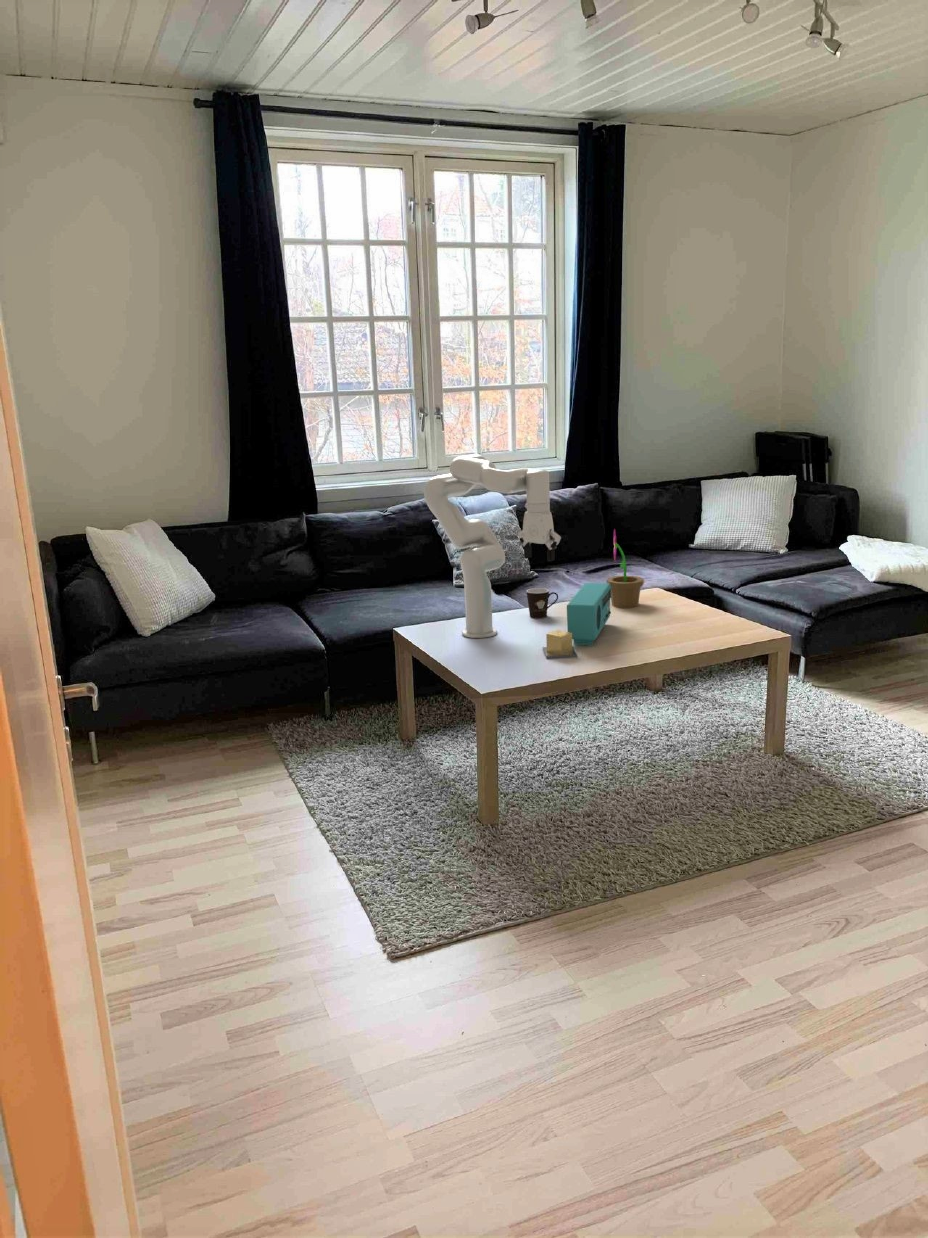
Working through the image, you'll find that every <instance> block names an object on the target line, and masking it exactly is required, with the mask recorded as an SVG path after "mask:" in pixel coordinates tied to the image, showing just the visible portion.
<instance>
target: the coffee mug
mask: <svg viewBox="0 0 928 1238" xmlns="http://www.w3.org/2000/svg"><path fill="white" fill-rule="evenodd" d="M525 592H526V598H527V605H528V612H529V617H530V618H532V619H544V618H546V617H548V610H549V608H551V607H552V606H553V605H555V604H556V602H557V601H558V599H559V595H558V593H557V592H555V591H553V592H550V589H548V588H543V587H534V588H529V589H527V590H526V591H525ZM551 595H555V596H556V598H555V600H554V601H553V602H552V603H550V604H549V598H550V596H551Z"/></svg>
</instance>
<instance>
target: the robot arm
mask: <svg viewBox="0 0 928 1238" xmlns="http://www.w3.org/2000/svg"><path fill="white" fill-rule="evenodd" d="M476 485H480V486H483V487H484V488H485V489H486V490H488V491H491V492H495V493H500V494H508V495H509V494H513V493H518V492H519V493H520V492H525V491H526V492H525V493H526V503H525V504H524V508H525V509H526V511H525V512H524V515H523V522H522V530H520V531H518V532H517V536H518V538H519V541H520V542H521V543H520V544H521V545H522V547H523V554H524V555H523V557H524V558H523V559H530V558H532V557H533V555H532V545H531V544H532V543H533V544H539V545H540V544H541V545H543V544H545V546H546V547H547V548H548V549H546V560H547V562H548V563H550V562H553V561H555V558H556V551H555V550H556V549H557V547H558V545H560V541H561V539H562V537H561V535H559V534H558V533H557V532H556V531H555V530H554V527H555V526H554V521H553V515H552V512H551V506H550V505H551V504H550V503H551V502H550V497H551V496H550V494H551V493H550V473H549V471H548V470H545V469H532V468H529V467H521V468H514V469H509V470H502V469H497V468H496V465H495V464H494V463H493V462H492V461H490V460H487V459H486V458H485V457H484V456H483V455H481V454H476V453H474V454H469V455H467V454H466V455H460V456H457V457H455V458H454V459H453V460H452V461H451V462H450V464H449V473H446V474H441V475H436V476H433V477H431V478H430V479H429V480H427V482H426V483H425V485H424V489H423V490H424V491H423V495H424V500H425V504H426V505H427V507H428V509H429V510H430V512H431V513H432V514H433V515H434V517H435V518H436V519H437V521H438V522H439V524H440V526H441V528H442V529H443V531H444V532H445V534H446V536H447V538H448V539H449V540H450V542H451V545H453V546H454V547H455V548H457V549H460V550H463V549H465V551H463V552H462V554H461V556H460V568H461V573H462V576H463V586H464V587H463V589H464V604H465V605H464V606H465V607H464V610H465V628H464V629H462V630H461V633H462V636H463V637H466V638H470V639H471V638H472V639H484V638H489V637H490V638H491V637H493V636H495V635H497V633H498V629H497V628H495V627H494V626H493V607H492V605H493V604H492V584H491V580H490V579H489V577H488V572H490V571H494V570H498V569H500V568H501V567H502V566H503V565H504V564H505V561H506V555H505V554H506V553H505V550H504V549H503V547H502V545H501V543H500V542H499V540H498V538H497V536H496V535H495V534H494V532H493V529H491V527H490V525H488V523H487V522H486V521H484V520H483V519H480V518H474V519H473V518H472V519H466V518H465V515H463V513H462V512H461V510H460V509H459V508H458V506H457V505H455V504H454V503H453V502H452V501H451V500H449V499H453V498H457V497H461V496H462V497H463V496H465V495H466V494H468V493H469V492H470V491H471V490H472V489H474V488H475V486H476ZM466 548H468V549H466Z"/></svg>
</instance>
